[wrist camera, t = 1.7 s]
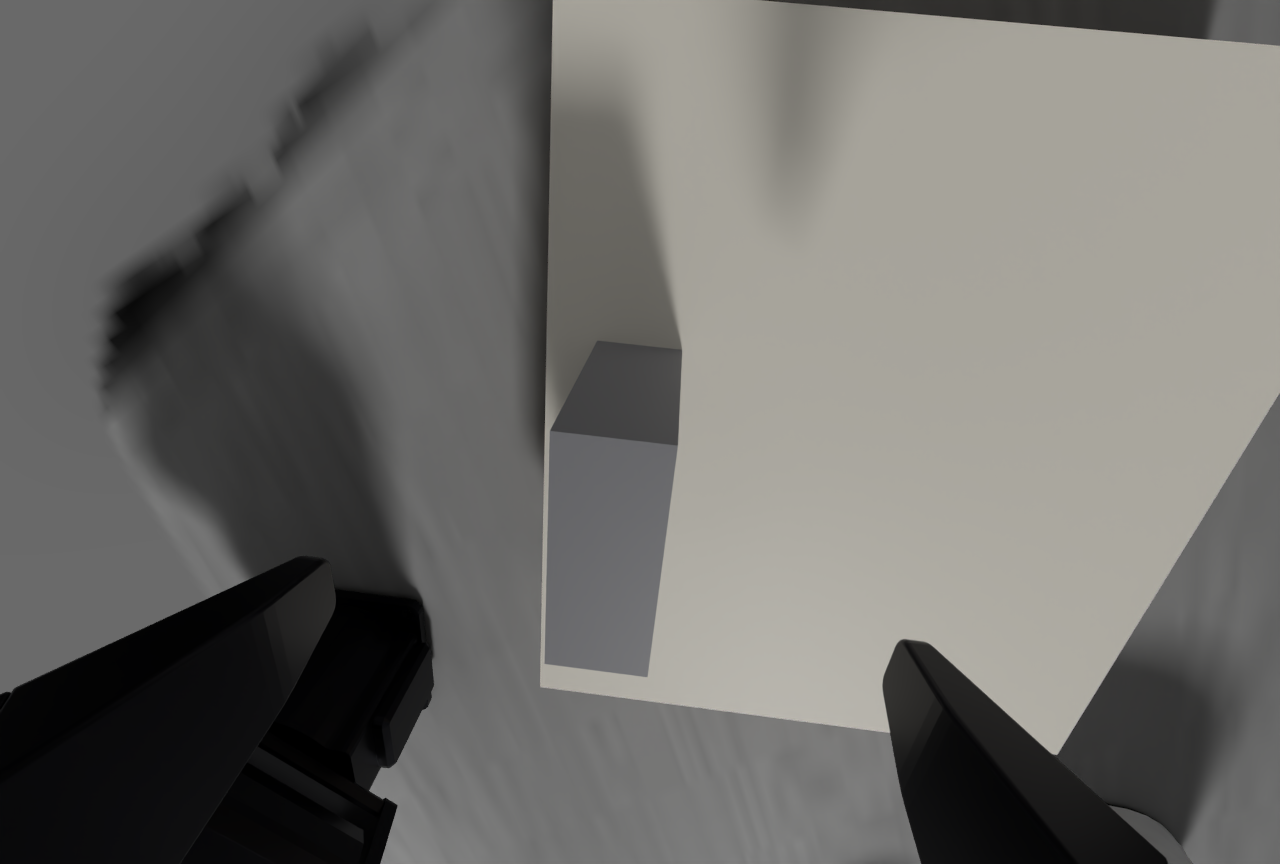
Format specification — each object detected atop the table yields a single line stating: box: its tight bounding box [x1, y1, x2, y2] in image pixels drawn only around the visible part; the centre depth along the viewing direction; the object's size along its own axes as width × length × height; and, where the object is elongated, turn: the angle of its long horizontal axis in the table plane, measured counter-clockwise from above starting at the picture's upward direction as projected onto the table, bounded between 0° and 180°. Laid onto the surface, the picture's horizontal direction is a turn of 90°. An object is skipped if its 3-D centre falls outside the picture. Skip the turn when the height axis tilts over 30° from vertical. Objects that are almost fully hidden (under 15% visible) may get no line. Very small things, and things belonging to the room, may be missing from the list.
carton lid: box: [540, 0, 1280, 755], centre depth 12 cm, size 16×18×6 cm
